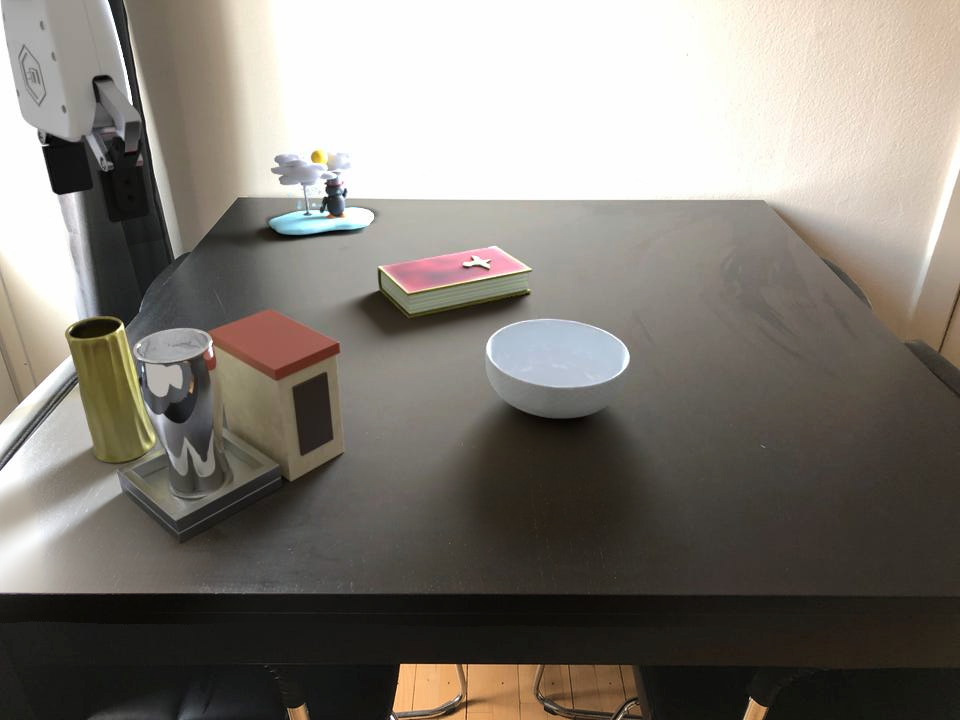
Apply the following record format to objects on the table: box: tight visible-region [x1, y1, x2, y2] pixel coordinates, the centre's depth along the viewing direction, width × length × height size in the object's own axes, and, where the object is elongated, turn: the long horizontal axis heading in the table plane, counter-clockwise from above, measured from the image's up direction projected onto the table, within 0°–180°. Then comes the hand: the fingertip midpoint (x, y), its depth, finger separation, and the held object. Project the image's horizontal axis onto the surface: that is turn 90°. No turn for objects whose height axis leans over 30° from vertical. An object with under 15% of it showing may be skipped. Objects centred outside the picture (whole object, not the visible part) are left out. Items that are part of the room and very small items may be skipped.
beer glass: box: [132, 327, 233, 498], centre depth 69 cm, size 7×7×15 cm
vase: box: [64, 315, 156, 464], centre depth 76 cm, size 6×6×14 cm
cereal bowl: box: [484, 318, 631, 419], centre depth 87 cm, size 17×17×7 cm
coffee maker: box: [116, 308, 346, 544], centre depth 73 cm, size 19×12×13 cm, turn 139°
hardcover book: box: [377, 245, 533, 319], centre depth 116 cm, size 12×21×4 cm, turn 118°
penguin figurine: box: [268, 149, 375, 236], centre depth 139 cm, size 20×11×15 cm, turn 108°
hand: (100, 204), depth 60 cm, fingers open, 9 cm apart
